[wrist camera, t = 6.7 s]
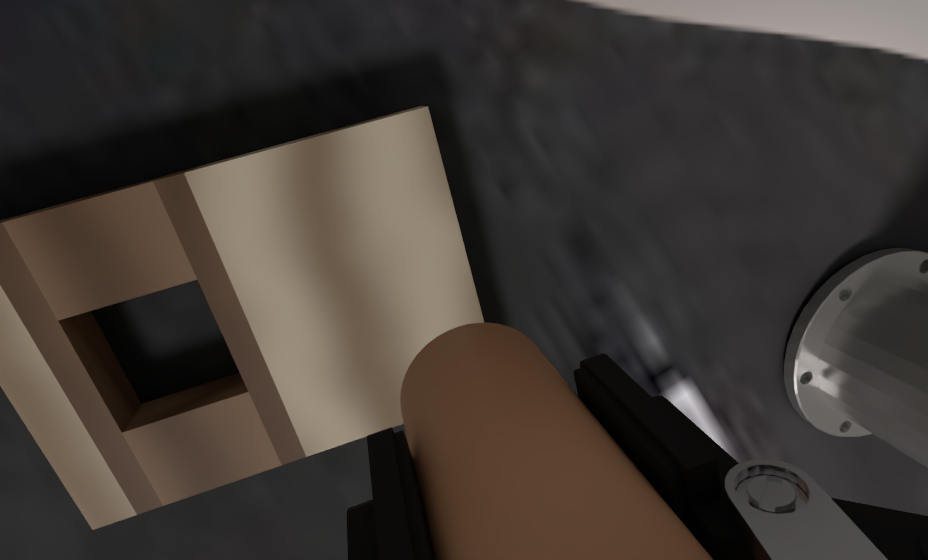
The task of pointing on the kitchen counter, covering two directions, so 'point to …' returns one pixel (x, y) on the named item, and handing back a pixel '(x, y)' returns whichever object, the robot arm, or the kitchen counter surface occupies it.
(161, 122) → the kitchen counter surface
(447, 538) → the peg
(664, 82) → the kitchen counter surface
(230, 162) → the plywood deck
